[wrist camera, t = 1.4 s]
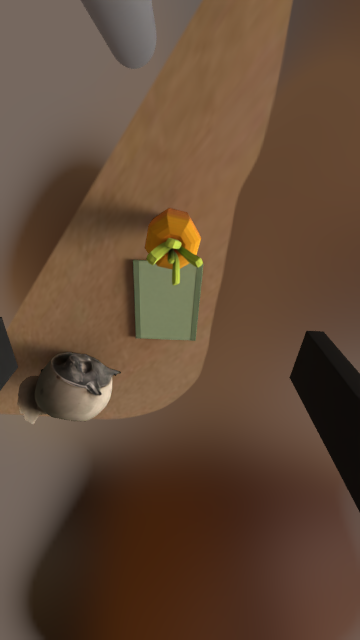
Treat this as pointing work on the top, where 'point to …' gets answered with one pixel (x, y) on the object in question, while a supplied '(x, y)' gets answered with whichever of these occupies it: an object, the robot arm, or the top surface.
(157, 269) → the tray
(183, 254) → the carrot
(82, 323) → the top surface
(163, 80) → the top surface
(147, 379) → the top surface
